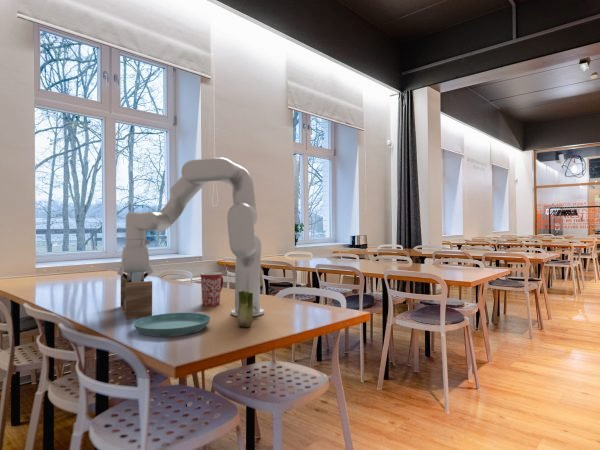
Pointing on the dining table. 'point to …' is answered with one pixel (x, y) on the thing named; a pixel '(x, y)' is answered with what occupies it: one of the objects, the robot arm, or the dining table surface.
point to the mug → (211, 288)
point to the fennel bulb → (245, 309)
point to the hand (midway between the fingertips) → (135, 289)
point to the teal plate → (171, 324)
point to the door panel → (136, 276)
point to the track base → (136, 298)
